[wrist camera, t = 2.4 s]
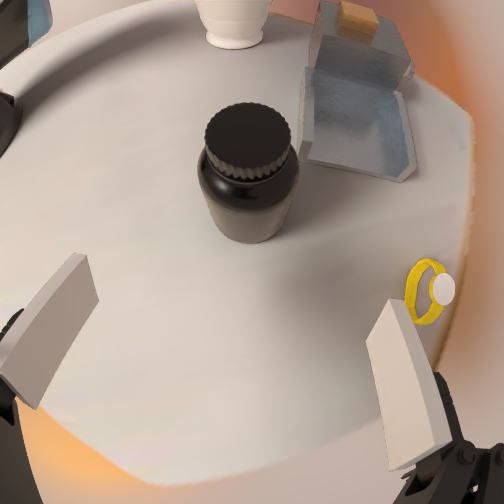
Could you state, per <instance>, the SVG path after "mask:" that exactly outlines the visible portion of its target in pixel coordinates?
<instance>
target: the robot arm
mask: <svg viewBox="0 0 504 504" xmlns="http://www.w3.org/2000/svg"><path fill="white" fill-rule="evenodd" d="M52 23H53V18H52V12H51V7H50V3H49V0H0V70H1V69H2V68H3V67H4V66H5V65H7V64H8V63H9V62H10V61H12V60H13V59H14V58H15V57H16V56H18V55H19V54H20V53H22V52H23V51H24V50H25V49H27V48H28V47H29V48H30V47H31V46H32V44H33V43H34V42H36V41H37V40H38V39H40V38H41V37H42V36H44V35H45V34H46V33H47V32H48V31H49V30H50V28H51V27H52ZM21 116H22V105H21V104H20V102H19V101H18V100H17V99H16V98H15V97H14V96H11V95H9V94H7V93H4V92H2V91H0V155H1V154H2V153H3V151H4V150H5V148H6V147H7V145H8V144H9V142H10V140H11V139H12V137H13V135H14V133H15V131H16V129H17V127H18V124H19V122H20V119H21ZM98 302H99V299H98V296H97V293H96V289H95V286H94V282H93V279H92V275H91V271H90V267H89V263H88V259H87V255H84V254H78V253H73V254H72V255H71V256H70V257H69V258H68V260H67V261H66V262H65V263H64V264H63V265H62V266H61V267H60V268H59V269H58V270H57V271H56V273H55V274H54V275H53V276H52V277H51V278H50V279H49V280H48V282H47V283H46V284H45V285H44V286H43V287H42V289H41V290H40V291H39V292H38V293H37V294H36V296H35V297H34V298H33V299H32V301H31V302H30V303H29V304H28V306H27V307H26V308H25V309H23V308H22V309H21V310H19V311H18V312H17V313H15V314H14V315H13V316H12V317H11V319H10V320H9V321H8V323H7V325H6V326H5V327H4V328H3V329H2V332H1V333H0V504H43V502H42V499H41V497H40V494H39V491H38V489H37V486H36V483H35V480H34V477H33V474H32V471H31V467H30V464H29V460H28V456H27V452H26V448H25V444H24V440H23V436H22V431H21V426H20V420H19V414H18V408H17V403H16V401H15V399H14V398H15V396H17V397H18V398H19V399H20V400H21V401H22V402H23V403H25V404H27V405H28V406H29V407H31V408H33V409H34V410H36V409H37V407H38V405H39V403H40V401H41V399H42V397H43V395H44V393H45V391H46V389H47V387H48V385H49V383H50V382H51V380H52V378H53V376H54V374H55V372H56V371H57V369H58V367H59V365H60V363H61V362H62V360H63V358H64V356H65V355H66V353H67V351H68V350H69V348H70V346H71V345H72V343H73V341H74V340H75V338H76V336H77V335H78V333H79V331H80V330H81V328H82V327H83V325H84V323H85V322H86V320H87V319H88V317H89V316H90V314H91V313H92V311H93V310H94V308H95V307H96V305H97V304H98ZM366 345H367V349H368V353H369V358H370V362H371V366H372V371H373V375H374V380H375V385H376V390H377V395H378V400H379V405H380V411H381V416H382V422H383V428H384V434H385V441H386V448H387V455H388V463H389V471H396V470H400V469H405V468H408V467H410V466H412V465H413V464H415V463H416V468H415V469H414V470H411V471H410V472H408V473H406V474H404V475H403V476H402V477H401V479H404V478H407V477H409V476H410V477H409V478H408V479H407V480H406V481H407V482H406V484H405V485H404V487H403V489H402V490H401V492H400V494H399V495H398V496H397V498H396V500H395V501H394V503H393V504H504V444H503V443H498V444H496V445H495V446H494V447H492V448H491V449H480V448H475V446H474V444H472V443H471V442H470V441H466V440H464V438H463V435H462V432H461V428H460V424H459V421H458V417H457V414H456V411H455V408H454V405H453V404H452V403H453V401H452V398H451V396H450V392H449V389H448V386H447V383H446V381H445V380H444V378H443V377H442V376H441V374H440V373H439V372H434V373H432V370H431V367H430V364H429V361H428V359H427V356H426V353H425V351H424V348H423V346H422V343H421V340H420V338H419V336H418V333H417V331H416V328H415V326H414V323H413V321H412V319H411V316H410V314H409V312H408V310H407V307H406V305H405V303H404V301H403V300H398V299H388V301H387V303H386V305H385V307H384V309H383V311H382V312H381V314H380V316H379V318H378V320H377V322H376V324H375V325H374V327H373V329H372V331H371V333H370V334H369V336H368V338H367V340H366ZM476 485H478V489H477V491H476V492H473V487H474V486H476Z"/></svg>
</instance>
